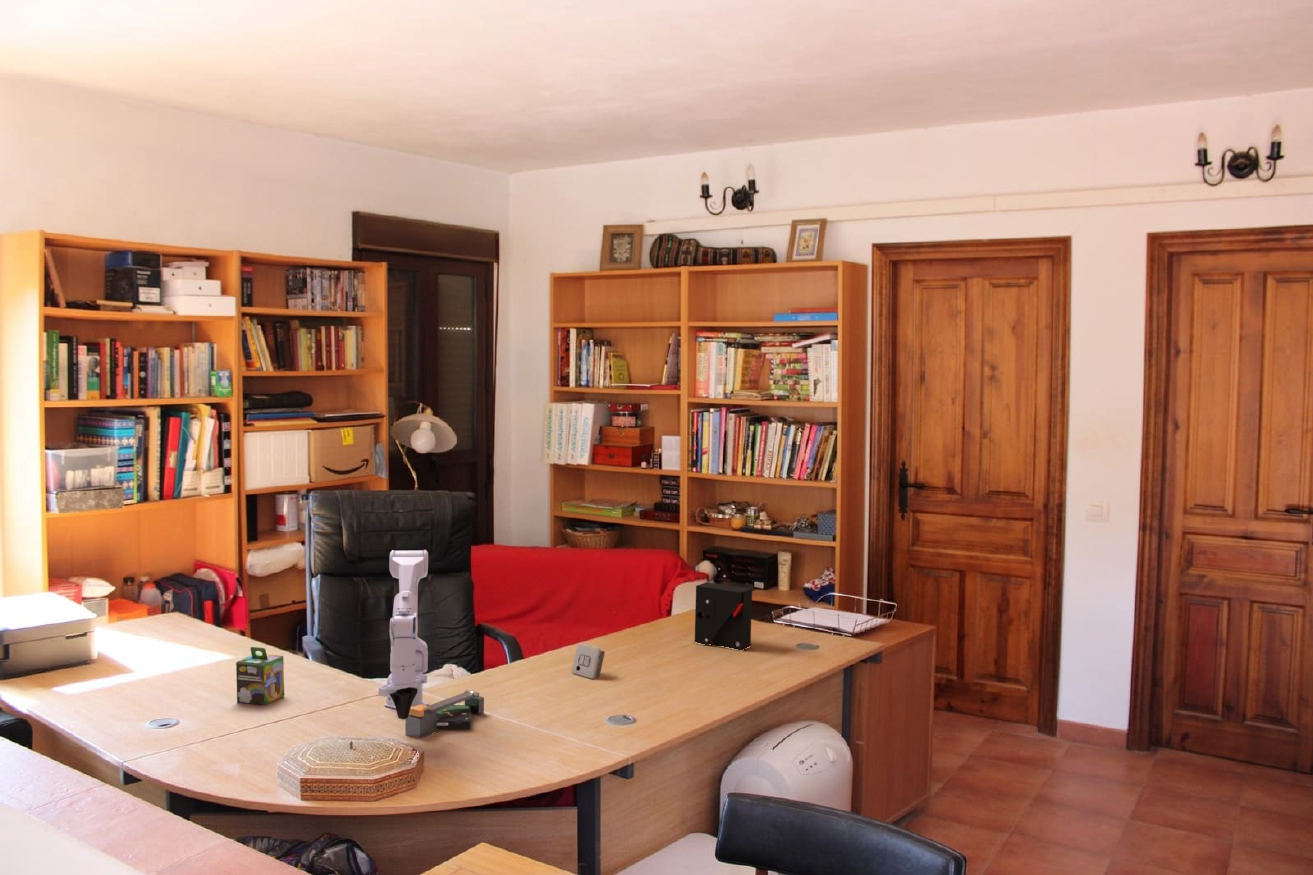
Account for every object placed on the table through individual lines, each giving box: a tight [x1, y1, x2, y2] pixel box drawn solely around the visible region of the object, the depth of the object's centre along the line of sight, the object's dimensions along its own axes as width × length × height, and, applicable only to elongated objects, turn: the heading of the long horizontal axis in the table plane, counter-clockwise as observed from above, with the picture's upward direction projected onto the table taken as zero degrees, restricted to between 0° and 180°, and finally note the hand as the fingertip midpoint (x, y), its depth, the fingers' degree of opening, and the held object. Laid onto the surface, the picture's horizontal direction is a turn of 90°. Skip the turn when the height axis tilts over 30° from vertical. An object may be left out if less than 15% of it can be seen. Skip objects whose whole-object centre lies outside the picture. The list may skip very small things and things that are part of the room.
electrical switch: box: [571, 642, 606, 680], centre depth 324 cm, size 9×5×9 cm, turn 49°
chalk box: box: [235, 646, 285, 707], centre depth 293 cm, size 9×9×15 cm
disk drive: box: [435, 704, 472, 731], centre depth 279 cm, size 10×3×15 cm
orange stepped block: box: [409, 704, 429, 717], centre depth 268 cm, size 4×4×2 cm
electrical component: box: [694, 582, 753, 651], centre depth 363 cm, size 18×10×20 cm, turn 58°
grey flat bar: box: [424, 689, 480, 713], centre depth 278 cm, size 4×18×1 cm, turn 149°
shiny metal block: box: [404, 695, 485, 739], centre depth 277 cm, size 5×24×5 cm, turn 149°
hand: (403, 718), depth 264 cm, fingers closed
